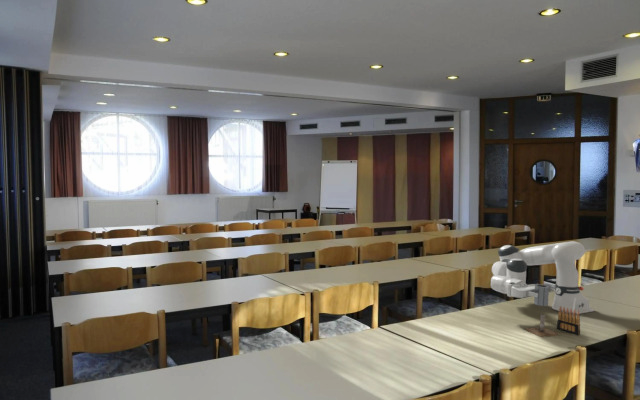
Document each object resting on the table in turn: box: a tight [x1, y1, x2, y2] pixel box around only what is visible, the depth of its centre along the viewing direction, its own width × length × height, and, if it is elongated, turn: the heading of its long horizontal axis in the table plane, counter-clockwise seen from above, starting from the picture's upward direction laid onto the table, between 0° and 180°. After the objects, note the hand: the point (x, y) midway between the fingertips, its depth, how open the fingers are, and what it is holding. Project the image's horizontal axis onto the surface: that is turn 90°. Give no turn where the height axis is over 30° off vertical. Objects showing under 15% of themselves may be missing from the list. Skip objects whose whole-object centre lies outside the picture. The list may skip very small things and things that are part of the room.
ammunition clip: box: [556, 306, 581, 336], centre depth 244 cm, size 11×2×12 cm, turn 36°
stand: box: [525, 313, 559, 338], centre depth 242 cm, size 10×10×9 cm
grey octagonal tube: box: [533, 284, 550, 307], centre depth 242 cm, size 6×6×9 cm
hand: (543, 294), depth 241 cm, fingers closed on grey octagonal tube, 6 cm apart
